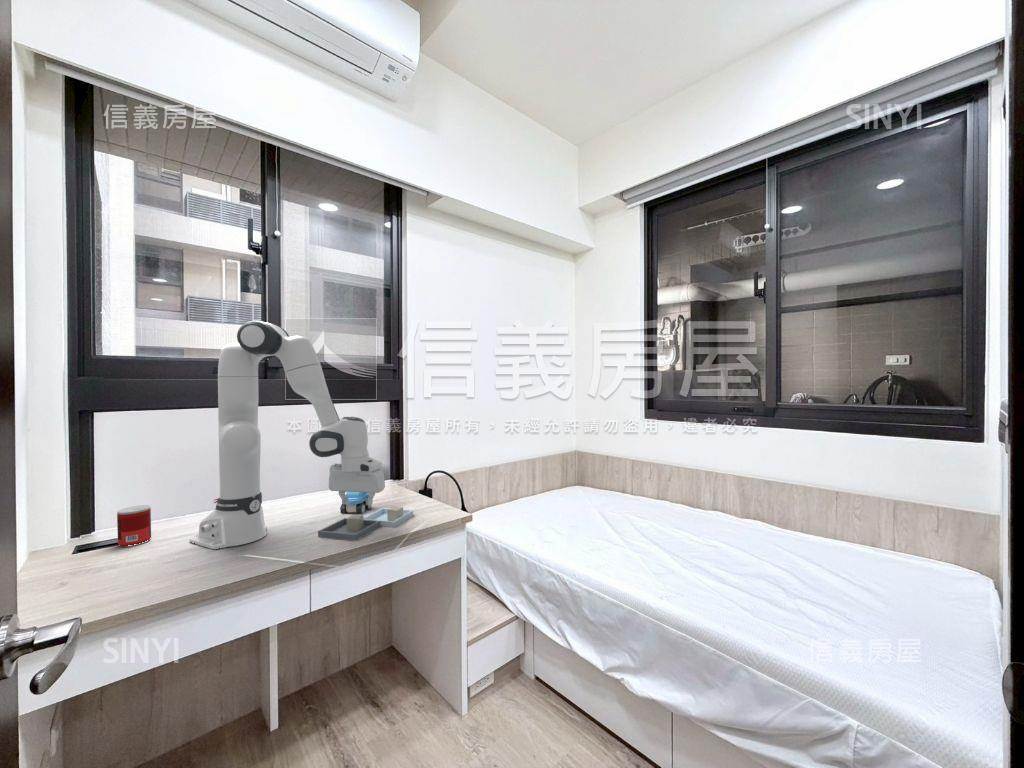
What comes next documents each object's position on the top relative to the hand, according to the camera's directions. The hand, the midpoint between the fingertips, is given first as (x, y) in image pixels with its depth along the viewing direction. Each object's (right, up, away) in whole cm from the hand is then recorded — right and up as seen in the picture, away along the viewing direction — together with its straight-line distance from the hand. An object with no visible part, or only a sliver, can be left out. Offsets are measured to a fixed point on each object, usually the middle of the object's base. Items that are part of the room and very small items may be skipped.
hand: (357, 504), depth 142 cm
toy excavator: (-8, -9, +23) cm, 26 cm away
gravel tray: (-1, -9, -3) cm, 9 cm away
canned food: (-68, -10, -9) cm, 70 cm away
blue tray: (+8, -9, +8) cm, 14 cm away
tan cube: (-1, -8, 0) cm, 8 cm away
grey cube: (+11, -8, +8) cm, 16 cm away
